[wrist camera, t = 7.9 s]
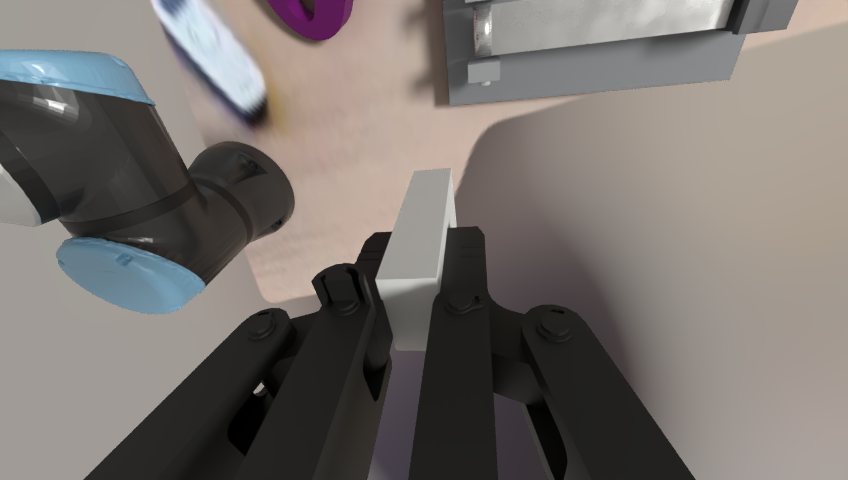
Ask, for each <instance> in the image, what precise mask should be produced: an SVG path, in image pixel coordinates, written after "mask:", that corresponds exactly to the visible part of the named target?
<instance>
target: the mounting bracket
mask: <svg viewBox="0 0 848 480" xmlns="http://www.w3.org/2000/svg"><path fill="white" fill-rule="evenodd" d="M268 1H269V3H270V5H271V6H272V8H273V9H274V10H275V12H276V13H277V14H278V15H279V17H280V18H281V19H282V20H283V21H284V22H285V23H286V24H287V25H288V26H290V27H291V28H292V29H293V30H295V31H296V32H298V33H299V34H301V35H303V36H305V37H308V38H310V39H314V40H326V39H329V38H331V37H333V36H334V35H335V34H336V33H337V32H338V31H339V30H340V29H341V28H342V27H343V25H344V24H345V23H346V22H347V20H348V19H349V17H350V14H351V11H352V6H353V0H315V9H314V13H313V12H310V11H309V10H307V9H306V8H305V7H304V6H303V5H302V3H301V2H300V0H268Z"/></svg>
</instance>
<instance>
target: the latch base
mask: <svg viewBox="0 0 848 480" xmlns="http://www.w3.org/2000/svg"><path fill="white" fill-rule="evenodd" d="M513 1H519V0H442V4H443V18H444V32H445V45H446V59H447V72H448V86H449V100H450V106H454V105H465V104H475V103H486V102H497V101H507V100H518V99H529V98H540V97H550V96H561V95H572V94H582V93H593V92H604V91H615V90H624V89H636V88H647V87H657V86H668V85H679V84H690V83H700V82H711V81H722V80H729V79H730V78H731V75H732V72H733V69H734V67H735V64H736V61H737V58H738V56H739V53H740V51H741V48H742V45H743V43H744V40H745V37H746V34H750V33H758V32H767V31H775V30H784V29H786V28H787V26H788V24H789V21H790V19H791V17H792V14H793V12H794V10H795V7H796V5H797V3H798V0H734V2H733V5H732V8H731V11H730V14H729V17H728V20H727V23H726V26H725V28H718V29H709V30H701V31H693V32H684V33H676V34H668V35H659V36H651V37H642V38H634V39H626V40H617V41H609V42H601V43H592V44H584V45H576V46H567V47H559V48H551V49H542V50H534V51H525V52H517V53H509V54H500V55H492V56H487V57H475V55H474V22H473V7H479V6H486V5H493V4H499V3H506V2H513Z"/></svg>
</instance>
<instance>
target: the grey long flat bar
mask: <svg viewBox="0 0 848 480" xmlns="http://www.w3.org/2000/svg"><path fill="white" fill-rule="evenodd" d="M733 2H734V0H519V1H513V2H506V3H499V4H493V5H486V6H479V7H473V22H474V55H475V57H487V56H492V55H500V54H509V53H517V52H525V51H534V50H542V49H551V48H559V47H567V46H576V45H584V44H592V43H601V42H609V41H617V40H626V39H634V38H642V37H651V36H659V35H668V34H676V33H684V32H693V31H701V30H709V29H718V28H725V26H726V23H727V20H728V17H729V14H730V11H731V8H732V5H733Z"/></svg>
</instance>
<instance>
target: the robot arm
mask: <svg viewBox="0 0 848 480" xmlns="http://www.w3.org/2000/svg"><path fill="white" fill-rule="evenodd" d="M154 106H155V103H154V102H153V101H152V100H151V99H149V97H148V96H147V94H146V92H145V91H144V89H143V87H142V86H141V84H140V82H139V81H138V79H137V77H136V76H135V74H134V72H133V71H132V69H131V68H130V67H129V66H128V65H127V64H126V63H125V62H123V61H122V60H120V59H119V58H117V57H114V56H112V55H109V54H105V53H100V52H87V51H86V52H85V51H68V50H67V51H65V50H0V222H3V223H10V224H17V225H24V226H30V227H35V226H38V225H42V224H44V223H47V222H49V221H52V220H54V219H57V218H58V220H59V221H60V222H61V223H62V224H63V226H64V227H65V228H66V229H67V230H68V231H69V232H70V234H71V235H72V236H73V238H71V239H68V240H65V241H64V242H63V243H62V245H61V246H60V247H59V249H58V250H57V252H56V257H57V258H58V264H59V266H60V267H61V268H62V270H63V271H64V272H65V273H66V274H67V275H68V276H69V277H70V278H71V279H72V280H74V281H75V282H76V283H78V284H79V285H80V286H81V287H83V288H84V289H86V290H87V291H89V292H91V293H92V294H94V295H96V296H98V297H100V298H102V299H104V300H105V301H108V302H110V303H112V304H115V305H117V306H119V307H122V308H125V309H128V310H132V311H136V312H140V313H146V314H166V313H171V312H174V311H176V310H178V309H180V308H182V307H183V306H184V305H185V304H186V303H188V302H189V301H190V300H191V299H192V298H194V297H195V296H196V295H197V294H198V293H201V292H202V291H203V290H204V289H205V287H206V286H207V285H208V283H210V282H211V281H212V280H213V278H215V277H216V276H217V275H218V274H219V273H220V272H221V270H222V269H223V268H224V267H225V266H226V265H227V264H228V263H229V262H230V261H231V260H232V259H233V258H234V257H235V256H236V255H237V254H238V253H239V252H240V251H241V250H242V249H243V248H244V247H245V246H246V245H247V244H249V243H250V242H252V241H255V240H257V239H260V238H262V237H264V236H267V235H269V234H272V233H274V232H276V231H277V230H279V229H280V228H281V227H282V226H283V225H284V224H285V223H286V222H287V221H288V220H289V219H290V217H291V215H292V213H293V210H294V203H295V202H294V194H293V190H292V187H291V185H290V182H289V180H288V179H287V177H286V175H285V174H284V172H283V171H282V170H281V169H280V167H279V166H278V165H277V164H276V163H275V162H274V161H273V160H272V159H271V158H269V157H268V156H267V155H266V154H264V153H263V152H261V151H259V150H258V149H256V148H254V147H252V146H249V145H246V144H243V143H239V142H221V143H218V144H216V145H214V146H212V147H210V148H208V149H206V150H204V151H203V152H202V153H200V154H199V155H198V156H197V158H196V159H195V160H194V162H193V163H192V165H191V166H190V167H189V169H188V170H187V168H186V166H185V164H184V162H183V160H182V158H181V156H180V154H179V152H178V151H177V149H176V147H175V145H174V143H173V141H172V139H171V137H170V135H169V133H168V132H167V130H166V128H165V126H164V124H163V122H162V120H161V118H160V116H159V115H158V113H157V111H156V109H155V107H154ZM311 282H312V284H313V286H314V289H315V291H316V293H317V295H318V298H319V300H320V302H321V304H322V306H321V308H320V310H319V311H317V312H315V313H312V314H308V315H304V316H300V317H297V318H292V319H290V318H289V316H288V314H287V312H286V311H284V310H282V309H280V308H269V309H266V310H262V311H259V312H257V313H256V314H253V315H251V316H250V317H249V318H247V319H246V320H245V321H244V322H242V323H241V325H239V326H238V327H237V328H236V329H235V330H234V331H233V332H232V333H231V334H230V335H229V336H228V338H226V339H225V340H224V341H223V342H222V343H221V344H220V345H219V346H218V347H217V348H216V349H215V350H214V351H213V352H212V353H211V354H210V355H209V356H208V357H207V358H206V359H205V360H204V361H203V362H202V363H201V364H200V365H199V366H198V367H197V368H196V369H195V370H194V371H193V372H192V373H191V374H190V375H189V376H188V377H187V378H186V379H185V380H184V381H183V382H182V383H181V384H180V385H179V386H178V387H177V388H176V389H175V390H174V391H173V392H172V393H171V394H170V395H168V397H166V398H165V400H163V401H162V402H161V403H160V405H158V406H157V407H156V408H155V409H154V410H153V411H152V412H151V413H150V414H149V415H148V416H147V417H146V418H145V419H144V420H143V421H142V422H141V423H140V424H139V425H138V426H137V427H136V428H135V429H134V430H133V431H132V432H131V433H130V434H129V435H128V436H127V437H126V438H125V439H124V440H123V441H122V442H121V443H120V444H119V445H118V446H117V447H116V448H115V449H114V450H113V451H112V452H111V453H110V454H109V455H108V456H107V457H106V458H105V459H104V460H103V461H102V462H101V463H100V464H99V465H98V466H97V467H96V468H95V469H94V470H93V471H92V472H91V473H90V474H89V475H88V476H87V477H86V478H85V479H84V480H367V478H368V474H369V469H370V464H371V460H372V455H373V451H374V446H375V442H376V437H377V433H378V428H379V423H380V419H381V415H382V410H383V406H384V401H385V397H386V392H387V388H388V383H389V378H390V374H391V370H392V360H391V357H390V353H389V352H390V348H391V343H392V339H393V342H394V345H395V349H396V350H406V351H426V354H425V362H424V370H423V376H422V383H421V391H420V398H419V405H418V413H417V421H416V427H415V435H414V441H413V449H412V456H411V463H410V471H409V478H408V480H498V470H497V452H496V435H495V434H496V433H495V414H494V395H493V392H494V393H497V394H500V395H502V396H505V397H508V398H510V399H513V400H516V401H518V402H520V405H521V407H522V410H523V413H524V415H525V418H526V421H527V423H528V426H529V428H530V431H531V434H532V437H533V439H534V442H535V445H536V448H537V450H538V453H539V456H540V458H541V461H542V463H543V466H544V469H545V471H546V474H547V477H548V480H695V478H694V477H693V475H692V474H691V472H690V471H689V470H688V468H687V467H686V465H685V464H684V462H683V461H682V459H681V458H680V457H679V455H678V454H677V453H676V451H675V449H674V448H673V447H672V445H671V444H670V442H669V441H668V439H667V438H666V437H665V435H664V434H663V432H662V431H661V429H660V428H659V426H658V425H657V424H656V422H655V421H654V419H653V418H652V416H651V415H650V414H649V412H648V411H647V409H646V408H645V407H644V405H643V404H642V402H641V401H640V399H639V398H638V396H637V395H636V394H635V392H634V391H633V389H632V388H631V386H630V385H629V383H628V382H627V381H626V379H625V378H624V376H623V375H622V373H621V372H620V371H619V369H618V368H617V366H616V365H615V364H614V362H613V361H612V359H611V358H610V356H609V355H608V353H607V352H606V351H605V349H604V348H603V346H602V345H601V343H600V342H599V341H598V339H597V338H596V337H595V335H594V333H593V332H592V330H591V329H590V328H589V326H588V325H587V323H586V322H585V321H584V320H583V319H582V318H581V317H580V316H579V315H578V314H577V313H575V312H573V311H572V310H570V309H568V308H566V307H561V306H557V305H540V306H537V307H534V308H532V309H530V310H529V311H528V312H527V313H526V314H522V313H518V312H514V311H511V310H507V309H505V308H503V307H501V306H500V305H498V304H496V302H495V301H493V300H492V298H491V297H490V295H489V293H488V289H487V272H486V255H485V236H484V234H483V233H482V231H481V230H480V229H479V228H478V227H477V226H474V227H456V215H455V205H454V194H453V184H452V173H451V168H445V169H433V170H421V171H414V173H413V176H412V179H411V182H410V184H409V187H408V190H407V193H406V195H405V198H404V201H403V204H402V207H401V209H400V212H399V215H398V218H397V221H396V223H395V226H394V229H393V232H376V233H374V234H373V235H372V236H371V237H369V238H368V239H367V240H366V241H365V243H364V245H363V247H362V249H361V253H360V254H359V256H358V258H357V262H355V264H350V263H343V264H336V265H333V266H331V267H328V268H326V269H324V270H323V271H321V272H320V273H318V274H317V275H316V276H315V277H314V279H313V280H312V281H311ZM261 382H262V384H263V385H264V388H263V389H262V390H261V391H260V392H259V393H256V394H254V393H253V391H254V390H255V389H256V388H257V387H258V385H259V384H260V383H261Z"/></svg>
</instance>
